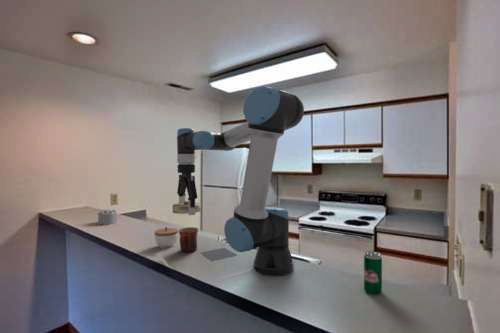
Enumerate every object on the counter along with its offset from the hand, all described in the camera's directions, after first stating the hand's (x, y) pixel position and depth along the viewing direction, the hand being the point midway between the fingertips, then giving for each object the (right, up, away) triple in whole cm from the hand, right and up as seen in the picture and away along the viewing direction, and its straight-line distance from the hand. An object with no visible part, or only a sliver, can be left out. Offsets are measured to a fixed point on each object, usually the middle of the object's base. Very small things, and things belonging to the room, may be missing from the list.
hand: (186, 212), depth 119 cm
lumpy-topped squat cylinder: (-68, -18, +62) cm, 93 cm away
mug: (0, -18, 0) cm, 18 cm away
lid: (0, +1, 0) cm, 1 cm away
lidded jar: (-12, -18, +10) cm, 24 cm away
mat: (+14, -18, -4) cm, 24 cm away
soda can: (+66, -19, -36) cm, 77 cm away
